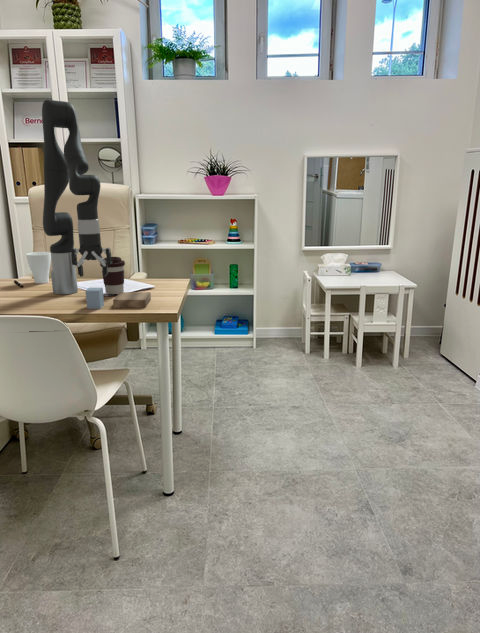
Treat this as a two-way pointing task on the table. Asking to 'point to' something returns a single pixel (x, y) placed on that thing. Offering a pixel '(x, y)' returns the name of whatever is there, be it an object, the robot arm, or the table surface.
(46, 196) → the robot arm
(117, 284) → the coffee cup
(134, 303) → the base
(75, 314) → the table surface
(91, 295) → the block
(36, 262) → the cup
